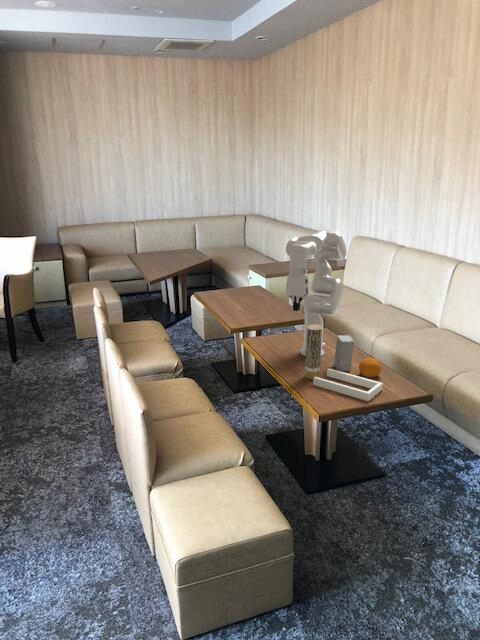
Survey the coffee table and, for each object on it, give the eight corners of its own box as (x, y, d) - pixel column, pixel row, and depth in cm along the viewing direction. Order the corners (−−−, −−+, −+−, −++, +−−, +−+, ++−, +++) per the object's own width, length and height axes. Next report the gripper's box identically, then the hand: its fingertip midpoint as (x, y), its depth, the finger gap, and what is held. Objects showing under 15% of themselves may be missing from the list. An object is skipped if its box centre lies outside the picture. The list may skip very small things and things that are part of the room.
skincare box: (333, 365, 262) (335, 335, 257) (347, 364, 263) (349, 334, 258) (337, 371, 254) (339, 340, 249) (352, 371, 255) (354, 340, 250)
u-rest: (328, 375, 250) (328, 368, 249) (382, 390, 234) (382, 383, 233) (313, 384, 240) (313, 377, 239) (368, 401, 224) (369, 393, 223)
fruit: (354, 376, 249) (355, 360, 247) (363, 369, 257) (365, 354, 255) (375, 381, 243) (376, 365, 241) (384, 374, 251) (385, 358, 249)
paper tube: (320, 375, 250) (323, 325, 242) (317, 381, 244) (320, 329, 236) (306, 373, 252) (308, 323, 244) (303, 379, 246) (305, 328, 238)
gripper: (316, 272, 237) (314, 311, 243) (288, 268, 246) (287, 305, 252) (307, 275, 232) (305, 315, 237) (279, 270, 240) (278, 309, 246)
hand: (296, 310), depth 244 cm, fingers closed
